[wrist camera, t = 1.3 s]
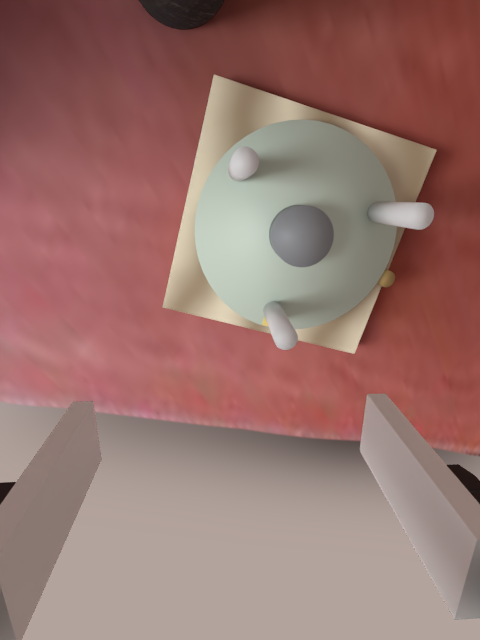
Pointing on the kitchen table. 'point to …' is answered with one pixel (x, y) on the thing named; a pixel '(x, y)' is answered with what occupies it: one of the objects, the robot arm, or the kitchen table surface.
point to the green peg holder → (298, 225)
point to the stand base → (223, 133)
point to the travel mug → (182, 11)
